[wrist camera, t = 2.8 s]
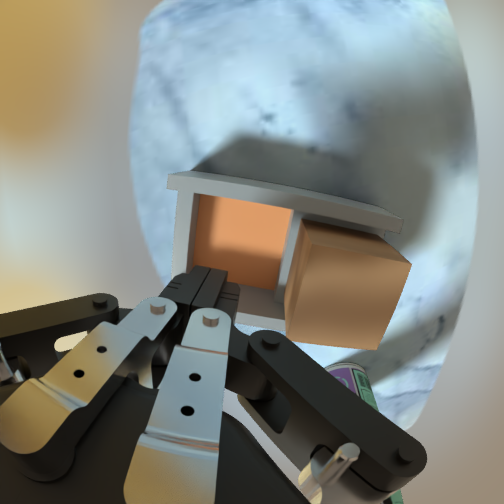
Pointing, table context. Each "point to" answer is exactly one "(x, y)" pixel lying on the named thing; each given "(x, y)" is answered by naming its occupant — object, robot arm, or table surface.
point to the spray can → (360, 385)
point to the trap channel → (256, 234)
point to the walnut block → (342, 286)
